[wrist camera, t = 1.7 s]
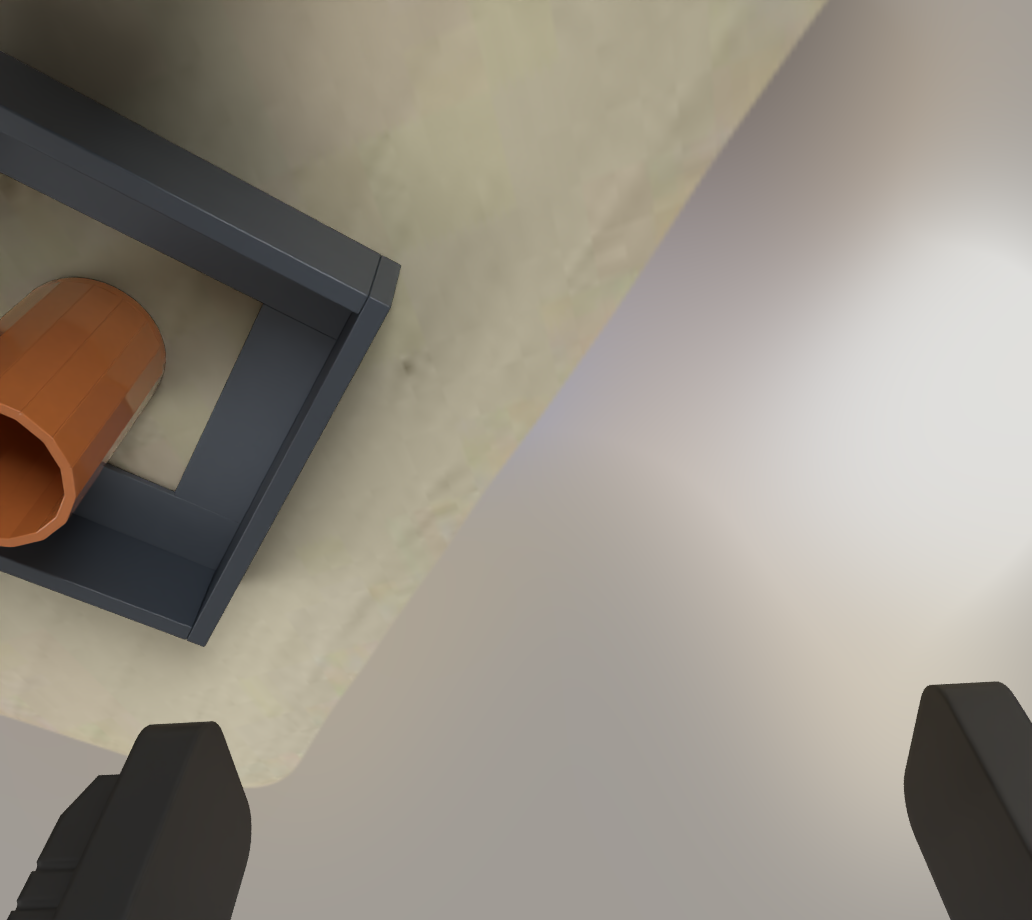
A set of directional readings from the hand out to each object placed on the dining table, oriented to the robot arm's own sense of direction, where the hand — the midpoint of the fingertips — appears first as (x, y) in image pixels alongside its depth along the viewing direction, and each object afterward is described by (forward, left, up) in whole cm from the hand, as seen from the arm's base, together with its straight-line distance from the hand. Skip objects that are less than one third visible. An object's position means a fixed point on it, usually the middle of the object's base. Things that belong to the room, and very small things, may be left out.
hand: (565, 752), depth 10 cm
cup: (-11, -14, -25) cm, 30 cm away
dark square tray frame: (-11, -14, -25) cm, 30 cm away
